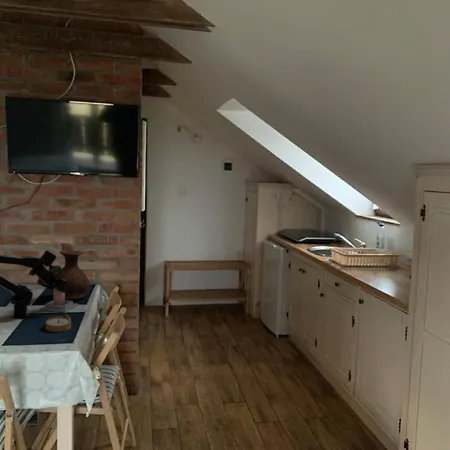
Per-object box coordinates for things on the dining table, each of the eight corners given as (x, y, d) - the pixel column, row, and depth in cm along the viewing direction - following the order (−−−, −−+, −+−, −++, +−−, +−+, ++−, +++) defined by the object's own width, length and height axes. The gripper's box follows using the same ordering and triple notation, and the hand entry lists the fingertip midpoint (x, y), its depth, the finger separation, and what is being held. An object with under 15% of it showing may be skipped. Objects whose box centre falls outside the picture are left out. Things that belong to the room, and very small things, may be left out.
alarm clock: (44, 326, 227) (47, 311, 241) (44, 336, 228) (47, 321, 242) (70, 325, 230) (71, 311, 244) (70, 335, 231) (71, 320, 245)
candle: (65, 306, 265) (65, 280, 264) (54, 307, 263) (54, 281, 261) (63, 304, 270) (63, 278, 269) (52, 305, 267) (52, 278, 266)
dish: (65, 312, 259) (65, 307, 258) (40, 310, 261) (40, 305, 261) (77, 305, 272) (77, 300, 272) (53, 303, 275) (53, 298, 274)
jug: (95, 294, 298) (96, 244, 295) (81, 303, 277) (82, 249, 274) (60, 291, 300) (60, 242, 297) (43, 300, 279) (44, 247, 276)
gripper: (64, 264, 255) (81, 282, 265) (42, 258, 266) (60, 276, 276) (50, 281, 250) (68, 299, 260) (28, 275, 261) (47, 292, 271)
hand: (61, 291), depth 267 cm, fingers open, 9 cm apart
